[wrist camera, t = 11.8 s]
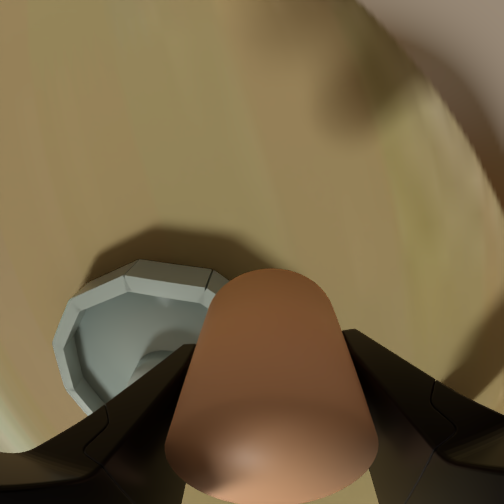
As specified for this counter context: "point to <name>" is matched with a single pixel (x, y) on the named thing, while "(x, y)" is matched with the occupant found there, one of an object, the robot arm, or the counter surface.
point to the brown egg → (271, 397)
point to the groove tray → (129, 326)
